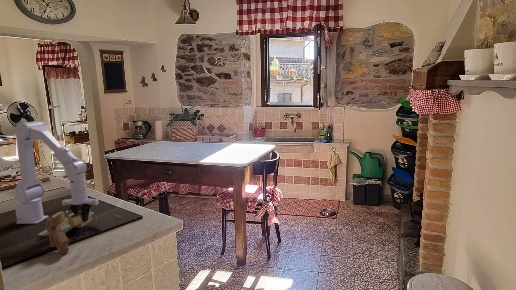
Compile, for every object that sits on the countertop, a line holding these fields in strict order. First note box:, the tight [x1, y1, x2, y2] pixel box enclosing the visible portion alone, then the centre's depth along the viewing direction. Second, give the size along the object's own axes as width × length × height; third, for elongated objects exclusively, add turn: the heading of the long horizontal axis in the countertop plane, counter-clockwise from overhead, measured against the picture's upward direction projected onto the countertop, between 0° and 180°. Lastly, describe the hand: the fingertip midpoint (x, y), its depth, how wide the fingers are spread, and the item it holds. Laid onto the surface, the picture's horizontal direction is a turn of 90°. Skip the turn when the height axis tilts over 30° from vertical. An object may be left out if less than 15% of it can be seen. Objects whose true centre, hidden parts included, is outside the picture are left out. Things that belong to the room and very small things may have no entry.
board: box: [37, 211, 95, 237], centre depth 148 cm, size 24×10×1 cm, turn 176°
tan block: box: [68, 207, 93, 229], centre depth 144 cm, size 12×4×6 cm, turn 176°
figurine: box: [45, 215, 70, 256], centre depth 123 cm, size 13×2×15 cm
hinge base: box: [52, 210, 70, 229], centre depth 143 cm, size 11×3×6 cm, turn 176°
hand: (82, 221), depth 145 cm, fingers closed on tan block, 2 cm apart
